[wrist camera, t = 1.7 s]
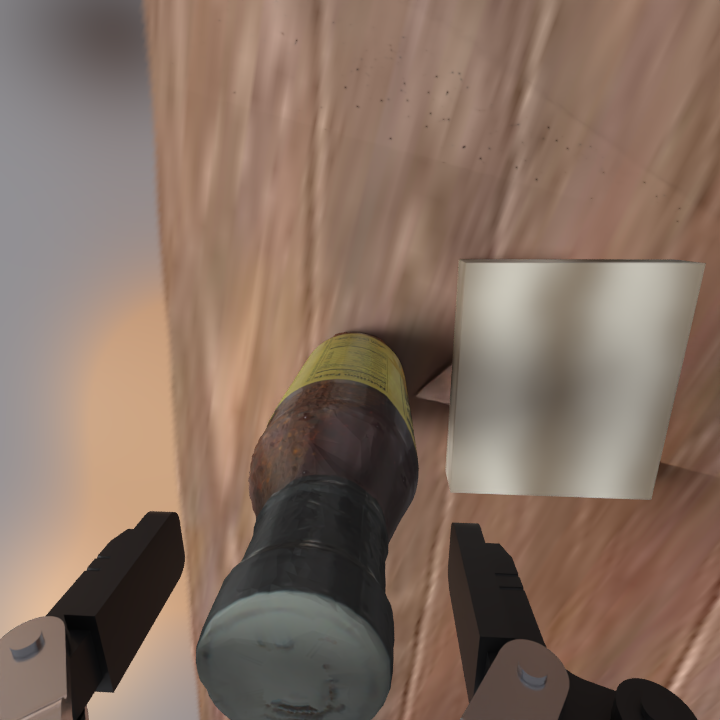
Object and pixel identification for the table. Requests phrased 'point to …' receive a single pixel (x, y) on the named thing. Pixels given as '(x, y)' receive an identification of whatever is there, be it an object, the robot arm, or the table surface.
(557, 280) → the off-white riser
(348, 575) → the sauce bottle
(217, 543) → the table surface
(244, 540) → the table surface
